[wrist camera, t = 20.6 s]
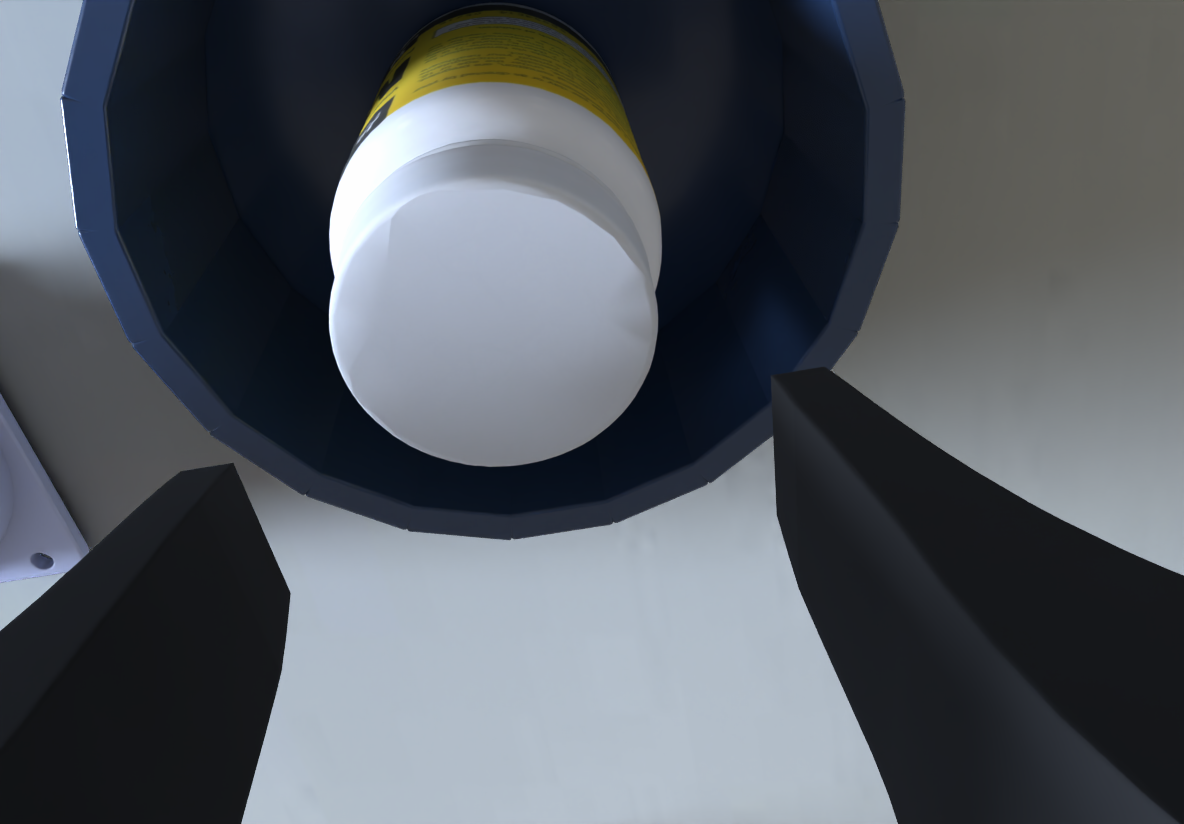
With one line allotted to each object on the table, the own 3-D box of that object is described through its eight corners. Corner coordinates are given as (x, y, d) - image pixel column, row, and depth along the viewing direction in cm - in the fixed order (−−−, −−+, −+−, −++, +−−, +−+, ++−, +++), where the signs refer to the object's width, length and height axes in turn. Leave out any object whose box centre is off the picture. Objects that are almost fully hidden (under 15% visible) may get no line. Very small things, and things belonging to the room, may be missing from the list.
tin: (294, 423, 22) (239, 583, 17) (64, -189, 15) (-121, -185, 11) (809, 342, 22) (888, 483, 17) (803, -309, 15) (930, -358, 11)
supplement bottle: (376, -16, 17) (281, 115, 10) (637, 11, 17) (727, 155, 10) (379, 237, 19) (305, 486, 12) (606, 254, 20) (660, 502, 13)
